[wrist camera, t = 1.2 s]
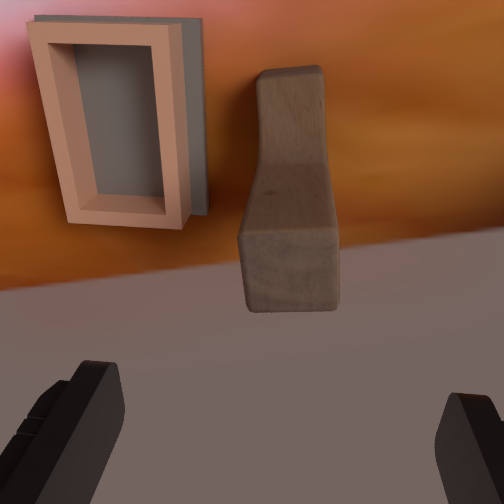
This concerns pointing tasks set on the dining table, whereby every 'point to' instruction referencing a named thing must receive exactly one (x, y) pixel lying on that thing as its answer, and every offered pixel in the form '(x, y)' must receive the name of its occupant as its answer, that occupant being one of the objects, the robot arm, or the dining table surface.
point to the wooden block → (290, 200)
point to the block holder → (125, 116)
